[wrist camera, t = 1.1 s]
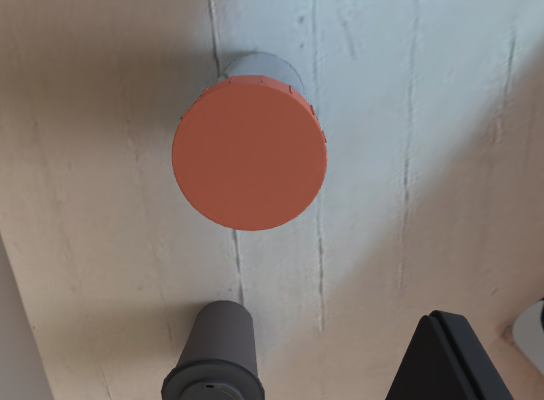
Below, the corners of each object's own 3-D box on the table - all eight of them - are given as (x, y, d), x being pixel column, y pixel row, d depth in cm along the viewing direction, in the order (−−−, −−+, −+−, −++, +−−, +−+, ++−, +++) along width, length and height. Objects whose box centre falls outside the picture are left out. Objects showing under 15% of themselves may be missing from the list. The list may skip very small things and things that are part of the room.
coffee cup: (240, 274, 42) (230, 353, 33) (282, 337, 45) (283, 425, 36) (165, 309, 43) (135, 393, 34) (211, 367, 46) (194, 459, 37)
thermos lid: (152, 149, 24) (139, 165, 22) (246, 41, 22) (242, 46, 20) (256, 234, 26) (254, 257, 24) (352, 143, 24) (359, 159, 22)
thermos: (197, 100, 36) (151, 161, 23) (257, 32, 33) (244, 55, 20) (262, 158, 37) (254, 245, 24) (323, 96, 35) (349, 156, 22)
